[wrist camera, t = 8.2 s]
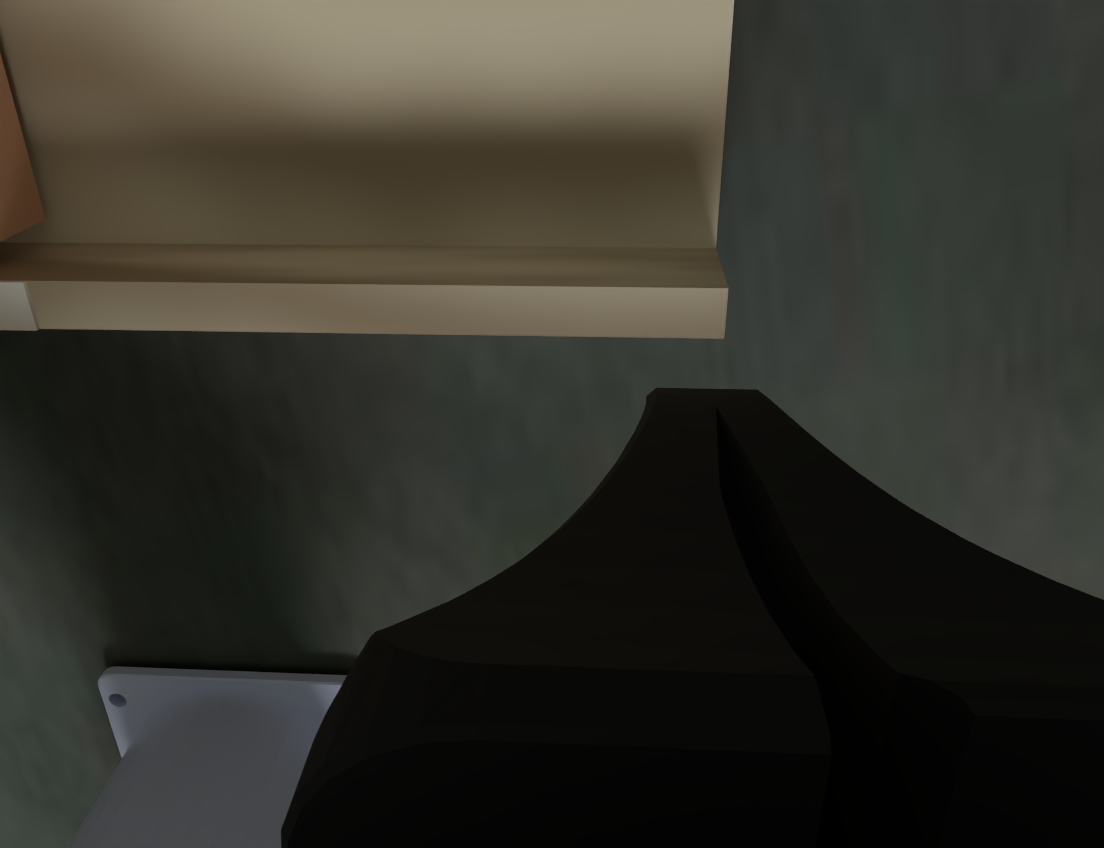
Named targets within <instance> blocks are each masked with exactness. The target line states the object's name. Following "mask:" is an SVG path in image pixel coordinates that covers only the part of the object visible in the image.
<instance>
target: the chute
mask: <svg viewBox="0 0 1104 848" xmlns="http://www.w3.org/2000/svg"><path fill="white" fill-rule="evenodd" d="M733 9H734V0H0V54H1V57H2V61H3V65H4V68H5V72H6V76H7V79H8V83H9V87H10V90H11V94H12V98H13V101H14V105H15V109H16V112H17V116H18V119H19V123H20V127H21V130H22V134H23V138H24V141H25V145H26V149H27V152H28V156H29V160H30V163H31V167H32V171H33V174H34V178H35V182H36V185H37V189H38V192H39V196H40V200H41V203H42V207H43V211H44V214H45V218H46V220H44V221H42V222H40V223H38V224H35V225H33V226H31V227H29V228H27V229H25V230H23V231H21V232H19V233H17V234H15V235H13V236H11V237H9V238H7V239H5V240H3V241H0V330H24V331H37V330H39V329H89V330H159V331H230V332H300V333H370V334H440V335H510V336H580V337H651V338H721V339H724V335H725V323H726V311H727V299H728V286H727V282H726V279H725V276H724V273H723V270H722V266H721V263H720V260H719V257H718V254H717V251H716V238H717V225H718V211H719V198H720V184H721V171H722V157H723V144H724V130H725V117H726V103H727V90H728V76H729V63H730V49H731V36H732V23H733Z"/></svg>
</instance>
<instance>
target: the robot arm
mask: <svg viewBox="0 0 1104 848" xmlns="http://www.w3.org/2000/svg"><path fill="white" fill-rule="evenodd" d="M98 687H99V690H100V693H101V696H102V699H103V702H104V705H105V709H106V712H107V715H108V718H109V721H110V724H111V727H112V730H113V733H114V736H115V739H116V742H117V745H118V748H119V752H120V755H121V758H122V759H121V761H120V762H119V764H118V766H117V767H116V769H115V771H114V772H113V774H112V776H111V777H110V779H109V780H108V782H107V784H106V785H105V787H104V789H103V790H102V792H101V794H100V795H99V797H98V799H97V800H96V802H95V803H94V805H93V807H92V808H91V810H90V812H89V813H88V815H87V817H86V818H85V820H84V822H83V823H82V825H81V826H80V828H79V830H78V831H77V833H76V835H75V836H74V838H73V840H72V841H71V843H70V845H69V846H68V848H1104V600H1102V599H1099V598H1097V597H1094V596H1091V595H1089V594H1086V593H1084V592H1081V591H1079V590H1076V589H1074V588H1071V587H1069V586H1066V585H1064V584H1061V583H1059V582H1056V581H1054V580H1051V579H1049V578H1046V577H1044V576H1042V575H1040V574H1038V573H1035V572H1033V571H1031V570H1029V569H1027V568H1024V567H1022V566H1020V565H1018V564H1015V563H1013V562H1011V561H1009V560H1007V559H1004V558H1002V557H1000V556H998V555H995V554H993V553H991V552H989V551H987V550H985V549H983V548H981V547H979V546H977V545H975V544H973V543H971V542H969V541H967V540H965V539H964V538H962V537H960V536H958V535H956V534H955V533H953V532H951V531H949V530H948V529H946V528H944V527H942V526H940V525H939V524H937V523H935V522H933V521H932V520H930V519H928V518H926V517H925V516H923V515H921V514H919V513H917V512H916V511H914V510H913V509H911V508H909V507H908V506H906V505H905V504H903V503H901V502H900V501H898V500H897V499H895V498H894V497H892V496H891V495H889V494H888V493H887V492H885V491H884V490H882V489H881V488H879V487H878V486H877V485H875V484H874V483H872V482H871V481H869V480H868V479H866V478H865V477H864V476H862V475H861V474H859V473H858V472H857V471H855V470H854V469H853V468H851V467H850V466H849V465H847V464H846V463H845V462H843V461H842V460H841V459H840V458H838V457H837V456H836V455H835V454H833V453H832V452H831V451H829V450H828V449H827V448H826V447H825V446H823V445H822V444H821V443H820V442H818V441H817V440H816V439H815V438H814V437H813V436H811V435H810V434H809V433H808V432H807V431H805V430H804V429H803V428H802V427H801V426H800V425H798V424H797V423H796V422H795V421H794V420H793V419H792V418H790V417H789V416H788V415H787V414H786V413H785V412H784V411H782V410H781V409H780V408H779V407H778V406H777V405H776V404H774V403H773V402H772V401H771V400H770V399H769V398H767V397H766V396H765V395H764V394H762V393H761V392H760V391H758V390H744V389H688V388H656V389H654V390H653V391H652V392H651V393H650V394H649V395H647V396H646V406H645V410H644V412H643V415H642V417H641V420H640V422H639V424H638V426H637V428H636V430H635V432H634V434H633V435H632V437H631V439H630V440H629V442H628V444H627V445H626V447H625V449H624V450H623V452H622V454H621V455H620V457H619V459H618V460H617V462H616V463H615V464H614V466H613V467H612V468H611V470H610V471H609V472H608V474H607V475H606V476H605V478H604V479H603V480H602V482H601V483H600V484H599V486H598V487H597V488H596V490H595V491H594V492H593V493H592V494H591V496H590V497H589V498H588V499H587V500H586V501H585V502H584V504H583V505H582V506H581V507H580V508H579V509H578V510H577V511H576V512H575V513H574V514H573V515H572V516H571V517H570V518H569V519H568V520H567V521H566V522H565V523H564V524H563V525H562V526H561V527H560V528H559V529H558V530H557V531H556V532H555V533H553V534H552V535H551V536H550V537H549V538H547V539H546V540H545V541H544V542H543V543H541V544H540V545H539V546H538V547H537V548H535V549H534V550H533V551H532V552H530V553H529V554H528V555H527V556H525V557H524V558H523V559H521V560H520V561H518V562H517V563H515V564H514V565H512V566H511V567H509V568H508V569H506V570H504V571H503V572H501V573H500V574H498V575H496V576H495V577H493V578H492V579H490V580H488V581H486V582H484V583H483V584H481V585H479V586H477V587H475V588H474V589H472V590H470V591H468V592H466V593H464V594H462V595H460V596H458V597H456V598H454V599H452V600H450V601H448V602H446V603H444V604H442V605H439V606H437V607H435V608H432V609H430V610H428V611H425V612H423V613H421V614H418V615H416V616H414V617H411V618H409V619H407V620H404V621H402V622H400V623H397V624H395V625H393V626H390V627H387V628H385V629H382V630H379V631H376V632H375V633H374V634H373V635H372V636H371V637H370V638H369V640H368V642H367V643H366V645H365V646H364V648H363V650H362V651H361V653H360V655H359V656H358V658H357V660H356V661H355V663H354V665H353V666H352V668H351V670H350V671H349V673H348V675H326V674H300V673H273V672H247V671H221V670H195V669H169V668H143V667H117V666H115V667H109V668H107V669H106V670H105V671H104V672H103V673H102V675H101V676H100V678H99V680H98ZM121 695H122V696H121Z"/></svg>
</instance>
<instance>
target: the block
mask: <svg viewBox="0 0 1104 848" xmlns="http://www.w3.org/2000/svg"><path fill="white" fill-rule="evenodd" d="M44 220H46V218H45V214H44V211H43V207H42V203H41V200H40V196H39V192H38V189H37V185H36V182H35V178H34V174H33V171H32V167H31V163H30V160H29V156H28V152H27V149H26V145H25V141H24V138H23V134H22V130H21V127H20V123H19V119H18V116H17V112H16V109H15V105H14V101H13V98H12V94H11V90H10V87H9V83H8V79H7V76H6V72H5V68H4V65H3V61H2V57H1V54H0V241H3V240H5V239H7V238H9V237H11V236H13V235H15V234H17V233H19V232H21V231H23V230H25V229H27V228H29V227H31V226H33V225H35V224H38V223H40V222H42V221H44Z"/></svg>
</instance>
